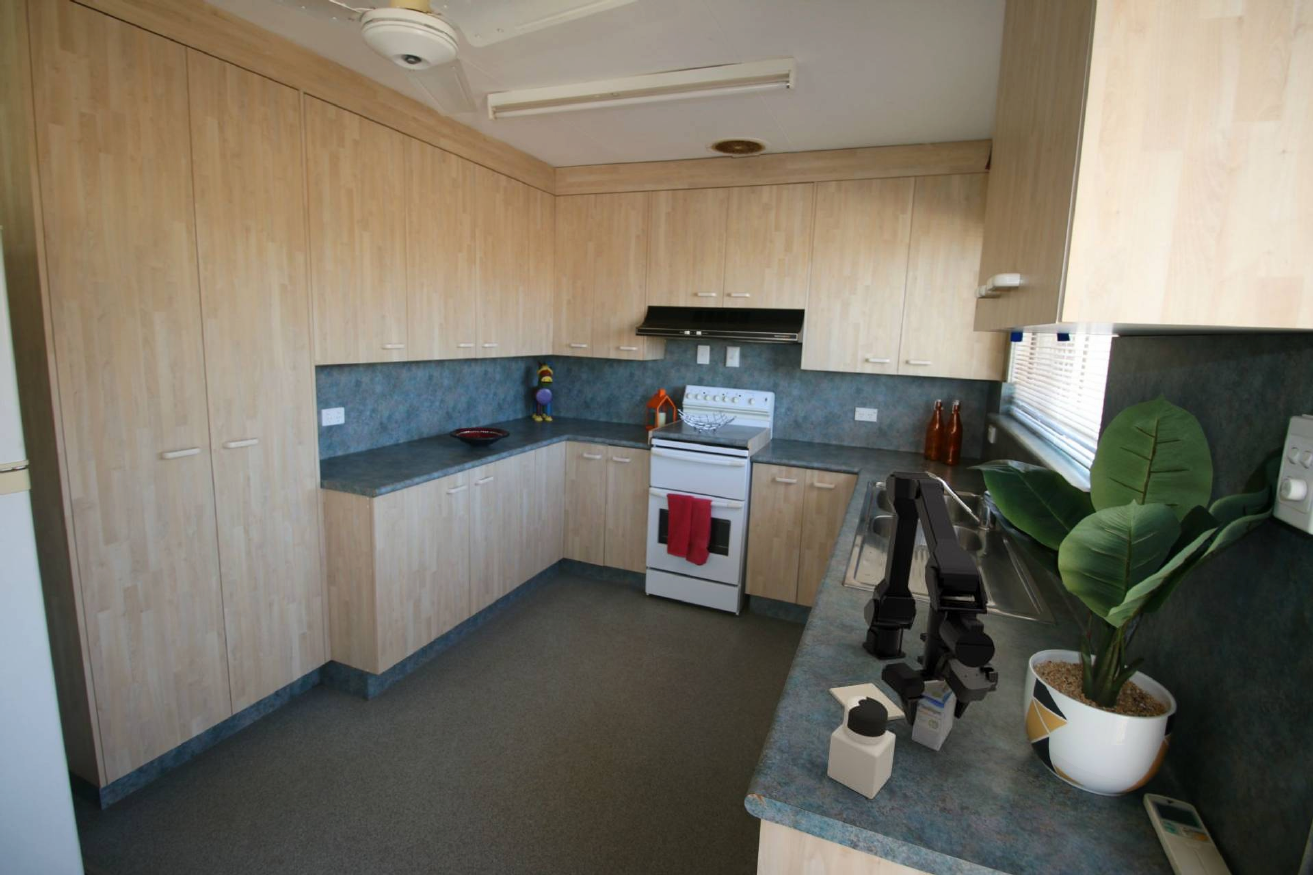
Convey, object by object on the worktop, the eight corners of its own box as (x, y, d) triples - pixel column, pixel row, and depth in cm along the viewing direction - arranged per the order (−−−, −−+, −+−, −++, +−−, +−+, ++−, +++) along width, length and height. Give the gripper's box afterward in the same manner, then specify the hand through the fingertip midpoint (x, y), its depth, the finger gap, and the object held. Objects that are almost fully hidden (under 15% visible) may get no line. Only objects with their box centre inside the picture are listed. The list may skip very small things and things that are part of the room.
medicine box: (925, 718, 110) (931, 673, 109) (952, 729, 108) (959, 683, 106) (910, 740, 104) (916, 692, 103) (939, 752, 102) (945, 704, 100)
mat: (871, 686, 120) (871, 683, 120) (905, 717, 110) (905, 714, 110) (829, 691, 117) (829, 688, 117) (860, 724, 108) (860, 721, 108)
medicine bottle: (891, 776, 96) (900, 704, 94) (871, 801, 90) (880, 725, 88) (847, 753, 100) (854, 684, 98) (826, 776, 95) (833, 704, 93)
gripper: (930, 666, 93) (918, 761, 95) (1032, 653, 98) (1017, 744, 100) (884, 630, 103) (874, 717, 106) (978, 620, 108) (966, 703, 111)
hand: (933, 721), depth 106 cm, fingers open, 9 cm apart
